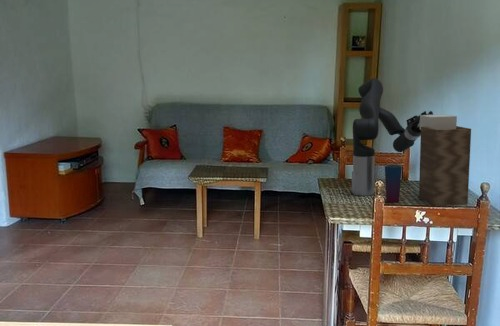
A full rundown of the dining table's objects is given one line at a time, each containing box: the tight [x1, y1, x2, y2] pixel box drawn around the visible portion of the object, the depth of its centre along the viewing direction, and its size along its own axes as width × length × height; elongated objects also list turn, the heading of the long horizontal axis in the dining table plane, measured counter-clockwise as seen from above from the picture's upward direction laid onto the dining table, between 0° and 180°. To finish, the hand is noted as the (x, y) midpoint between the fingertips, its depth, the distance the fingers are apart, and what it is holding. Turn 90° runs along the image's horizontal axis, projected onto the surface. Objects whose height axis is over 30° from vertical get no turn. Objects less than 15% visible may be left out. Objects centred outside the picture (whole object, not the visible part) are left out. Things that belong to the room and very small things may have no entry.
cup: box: [384, 163, 403, 204], centre depth 191 cm, size 7×7×15 cm
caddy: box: [419, 112, 458, 130], centre depth 197 cm, size 11×21×6 cm, turn 2°
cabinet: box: [418, 125, 472, 206], centre depth 188 cm, size 14×14×30 cm
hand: (428, 113), depth 201 cm, fingers closed on caddy, 2 cm apart
